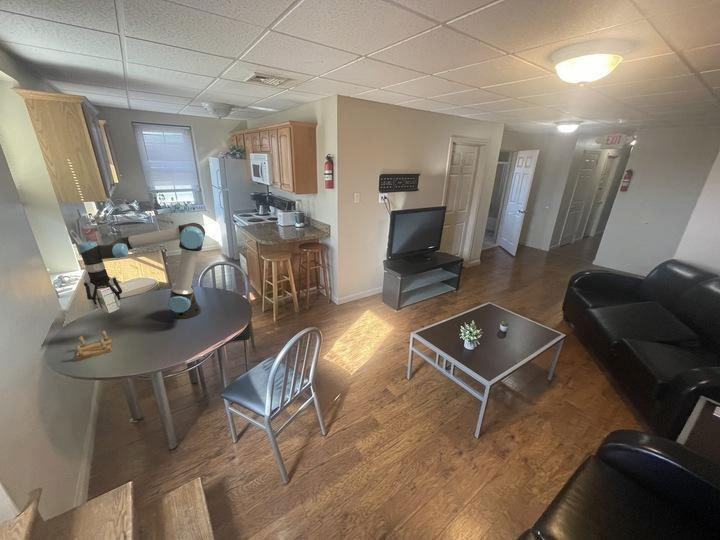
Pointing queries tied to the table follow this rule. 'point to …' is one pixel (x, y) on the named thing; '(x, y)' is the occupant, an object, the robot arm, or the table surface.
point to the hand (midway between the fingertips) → (109, 306)
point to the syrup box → (107, 299)
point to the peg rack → (93, 347)
